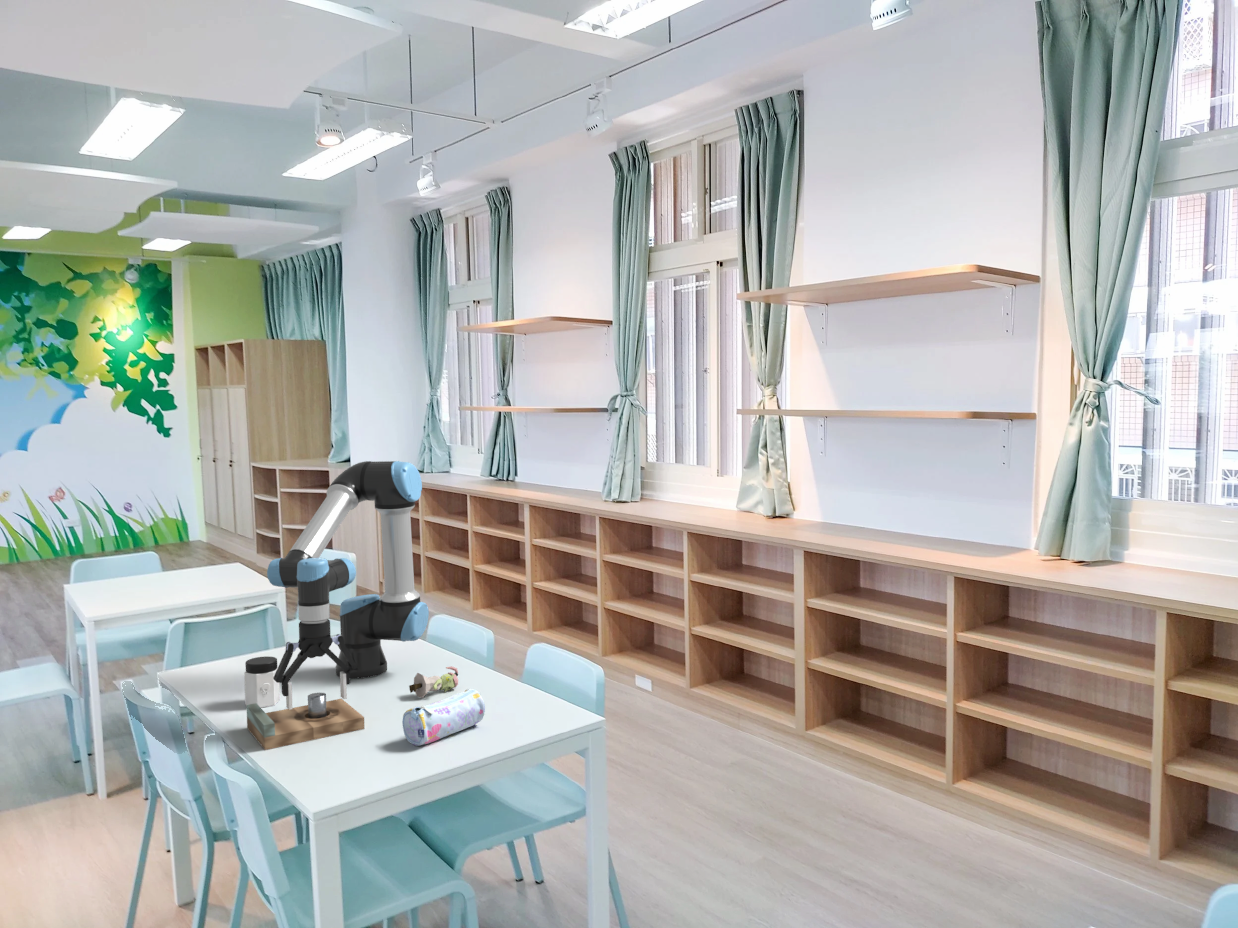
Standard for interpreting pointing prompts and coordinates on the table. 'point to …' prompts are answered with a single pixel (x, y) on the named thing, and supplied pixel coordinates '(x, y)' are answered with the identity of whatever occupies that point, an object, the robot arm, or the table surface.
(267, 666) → the jar
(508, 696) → the table surface
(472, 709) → the pencil case
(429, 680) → the figurine
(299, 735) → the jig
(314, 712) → the grey metal cylinder
